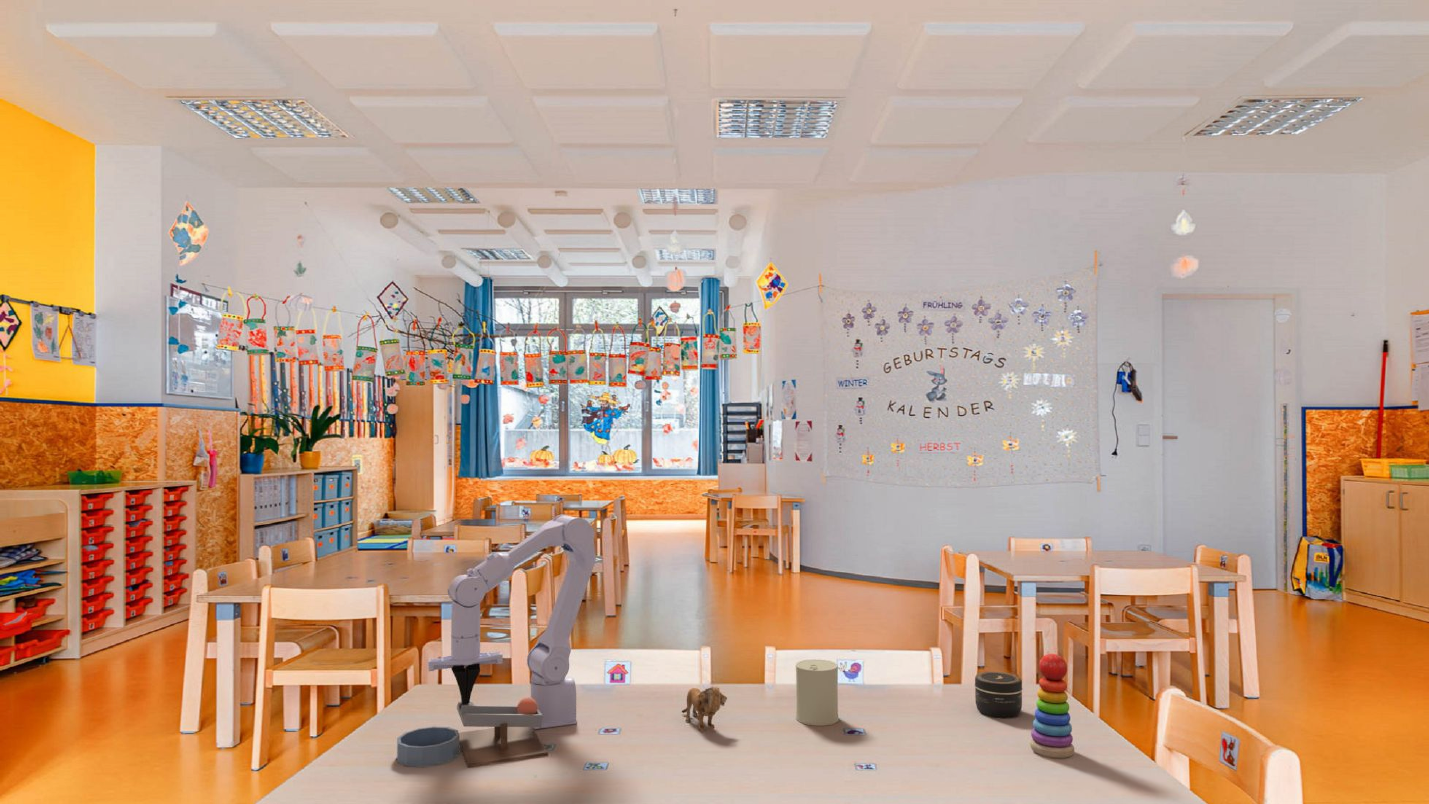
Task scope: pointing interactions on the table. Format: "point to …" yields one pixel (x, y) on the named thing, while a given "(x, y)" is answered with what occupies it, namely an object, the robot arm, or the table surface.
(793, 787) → the table surface
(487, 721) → the lever
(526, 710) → the ball
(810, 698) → the can
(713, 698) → the lion figurine
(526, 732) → the catapult base
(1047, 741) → the stacking toy
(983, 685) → the jar
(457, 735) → the bowl
